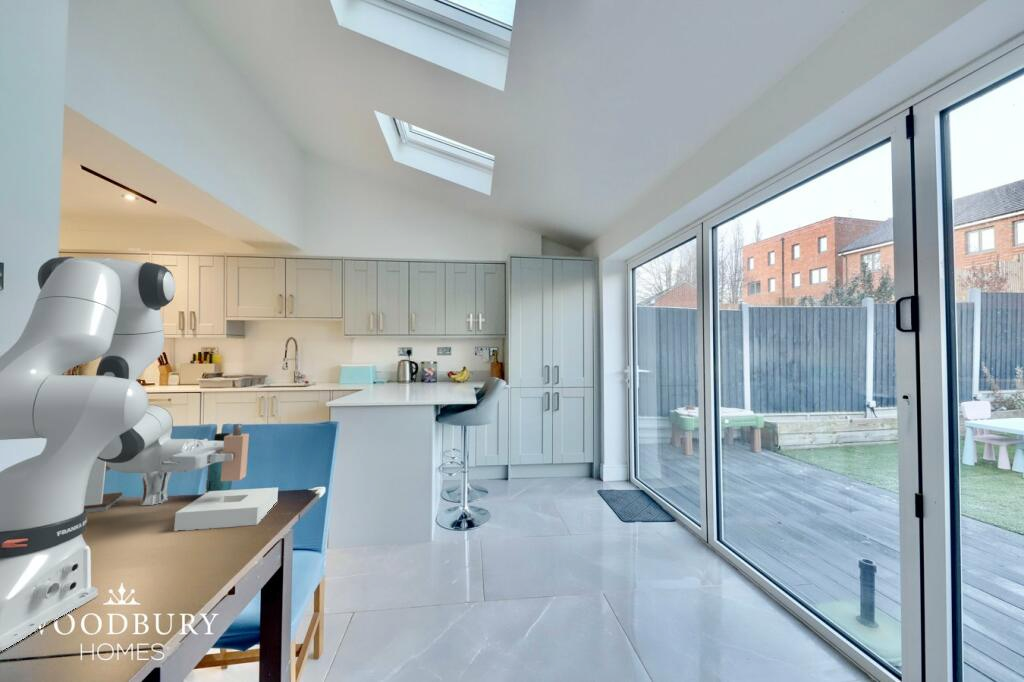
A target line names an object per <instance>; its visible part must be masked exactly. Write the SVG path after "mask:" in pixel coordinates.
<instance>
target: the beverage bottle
mask: <svg viewBox="0 0 1024 682" xmlns="http://www.w3.org/2000/svg"><path fill="white" fill-rule="evenodd" d="M230 434H231V433H229V432H220V433H216V434H214V438H213V441H224V437H225V436H227V435H230ZM221 471H222V461H221V462H215V463H213V464H211V465H208V466H207V473H206V474H207V475H206V476H207V477H206V484H205V487H206V488H205V494H206V493H208V492H209V491H224V490H232V482H233V481H221Z"/></svg>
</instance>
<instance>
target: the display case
mask: <svg viewBox="0 0 1024 682" xmlns="http://www.w3.org/2000/svg"><path fill="white" fill-rule="evenodd" d="M110 470H112V469H111V468H109V467H108V466H107V464H106V462H105V461H102V460H100V459H98V458H97V459H96V460H95V462H94V464H93V466H92V469H91V472H90V475H89V479H88V484H87V489H86V495H85V503H84V510H86V511H87V514H89V512H93V513H99V512H98V511H102V512H106V511H108V510H109V509H110V508H112V507H113V506H115V505H116V504H117V503H118V502H120V501H119V500H116V499H121V500H123V499H122V497H123V492H121V491H120V492H111V493H104V488H105V478H106V472H107V471H110ZM117 501H118V502H117ZM116 502H117V503H116ZM115 503H116V504H115ZM112 505H113V506H112ZM111 506H112V507H111ZM108 508H109V509H108ZM107 509H108V510H107Z"/></svg>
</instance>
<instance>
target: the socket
mask: <svg viewBox="0 0 1024 682" xmlns="http://www.w3.org/2000/svg"><path fill="white" fill-rule="evenodd" d="M278 494H279V487H264V488H245V489H243V488H242V489H231V490H224V491H209V492H208V493H206V492H205V494H203V495H201V496H200V497H198V498H197V499H195V500H194V501H192V502H190V503H189V504H187V505H186V506H184V507H183V508H180V509H179V510H178V511H175V516H174V517H175V518H174V525H173V526H174V529H173V531H174V532H179V531H178V530H186V531H196V530H195V529H199V530H208V529H209V530H210V528H211V529H221V528H235V527H246V526H247V527H248V526H257V525H258V524H259V523H260V522H261V521H262V520H261V519H264V518H265V516H267V515H268V513H269V512H270V511H271V510H272V509H273V508H274V507H273V505H274V504H275V503H276V502H277V503H278V496H279V495H278ZM277 503H276V504H277ZM276 504H275V505H276ZM275 505H274V506H275ZM272 507H273V508H272ZM271 508H272V509H271ZM270 509H271V510H270ZM269 510H270V511H269ZM268 511H269V512H268ZM267 512H268V513H267Z"/></svg>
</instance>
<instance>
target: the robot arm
mask: <svg viewBox="0 0 1024 682" xmlns="http://www.w3.org/2000/svg"><path fill="white" fill-rule="evenodd" d="M37 283H38V286H39V290H40V291H39V293H38V296H37V297H36V300H35V303H34V304H33V308H32V311H31V314H30V316H29V318H28V321H27V323H26V325H25V327H24V329H23V331H22V333H21V334H20V336H19V338H18V339H17V340H16V342H15V343H14V344H13V345H12V346H11V347H10V348H9V349H8V350H7V351H6V352H4V353H3V354H2V355H0V441H5V440H6V441H8V440H24V439H25V440H26V439H27V440H29V439H46V441H45V445H44V448H43V450H42V451H41V453H40V454H38V455H35V456H33V457H29V458H27V459H25V460H21V461H20V462H17V463H15V464H12V465H11V466H8V467H6V468H4V469H2V470H1V471H0V650H4V649H6V648H8V647H10V646H11V645H13V644H14V643H16V642H19V641H20V640H22V639H24V638H25V637H26V636H28V635H30V634H31V633H32V632H34V631H35V630H36V629H37V628H38V627H39V626H40V625H41V624H43V623H45V622H48V621H50V620H53V619H56V618H58V617H61V616H63V615H64V616H66V615H68V614H69V613H71V612H73V611H74V610H76V609H78V608H80V607H81V606H83V605H85V604H86V603H89V601H91V600H93V599H95V598H96V597H97V596H99V595H98V594H99V590H98V588H97V587H95V586H92V572H91V571H92V560H91V559H92V558H91V548H90V546H89V545H88V544H87V543H86V540H85V539H84V537H83V533H84V532H85V531H86V528H87V527H86V526H87V525H86V524H87V523H88V517H87V514H88V513H87V511H86V510H84V503H85V495H86V489H87V484H88V479H89V475H90V472H91V469H92V466H93V464H94V462H95V460H96V459H97V458H98V459H100V460H102V461H105V462H106V464H107V466H108V467H109V468H111V469H110V470H112V471H116V472H119V473H125V474H142V473H151V472H155V471H160V472H165V473H169V472H171V473H187V472H190V471H197V470H201V469H203V468H206V467H208V465H211V464H213V463H215V462H221V461H231V460H233V459H234V458H235V453H227V454H223V446H224V441H214V440H209V438H196V439H195V438H172V435H173V428H174V426H173V423H174V422H173V416H172V415H171V414H172V413H170V412H169V411H168V410H167V409H166V408H165V407H162V406H160V405H156V404H149V396H148V393H147V391H146V389H145V387H143V385H142V384H141V383H140V382H138V381H137V379H138V378H139V377H140V375H142V374H143V372H145V371H146V369H148V367H150V366H151V365H152V364H153V363H154V362H156V361H157V360H158V359H159V358H160V356H161V355H162V354H163V352H164V346H165V331H164V330H165V328H164V321H163V317H162V312H161V309H162V308H163V307H166V306H167V305H169V304H170V303H171V302H172V301H173V299H174V297H175V294H176V289H177V287H176V282H175V278H174V276H173V273H172V271H170V270H169V269H168V268H167V267H166V266H165V265H161V264H158V263H155V262H147V261H146V262H141V261H140V262H139V261H131V260H126V259H125V260H124V259H116V258H109V257H74V256H61V257H60V256H59V257H54V258H53V257H52V258H50V259H48V260H47V261H45V262H43V264H41V265H40V268H38V272H37ZM98 359H100V361H99V363H98V366H97V369H96V372H95V375H87V374H86V375H77V374H76V375H72V374H70V375H69V374H65V373H66V372H68V371H70V370H71V369H73V368H74V367H77V366H80V365H83V364H87V363H90V362H94V361H96V360H98ZM64 374H65V375H64ZM75 608H76V609H75ZM73 609H74V610H73ZM72 610H73V611H72ZM70 611H71V612H70ZM68 612H69V613H68ZM67 613H68V614H67ZM65 614H66V615H65ZM64 616H63V617H64ZM61 618H62V617H61ZM30 636H31V635H30ZM25 639H26V638H25ZM25 639H24V640H25ZM22 641H23V640H22ZM20 642H21V641H20ZM20 642H19V643H20ZM13 646H14V645H13ZM10 648H11V647H10ZM8 649H9V648H8ZM6 650H7V649H6Z"/></svg>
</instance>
